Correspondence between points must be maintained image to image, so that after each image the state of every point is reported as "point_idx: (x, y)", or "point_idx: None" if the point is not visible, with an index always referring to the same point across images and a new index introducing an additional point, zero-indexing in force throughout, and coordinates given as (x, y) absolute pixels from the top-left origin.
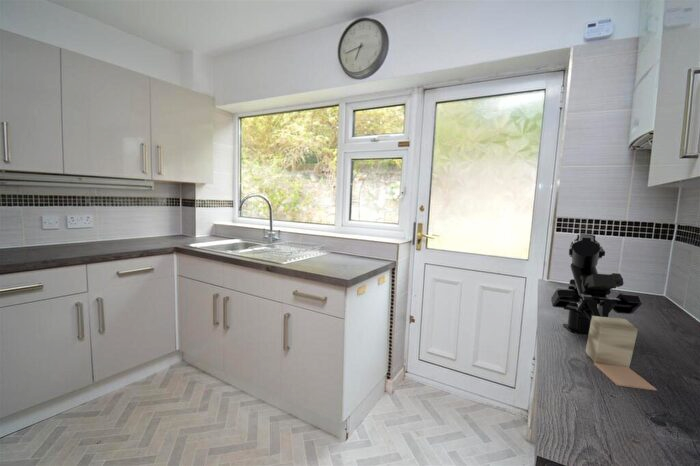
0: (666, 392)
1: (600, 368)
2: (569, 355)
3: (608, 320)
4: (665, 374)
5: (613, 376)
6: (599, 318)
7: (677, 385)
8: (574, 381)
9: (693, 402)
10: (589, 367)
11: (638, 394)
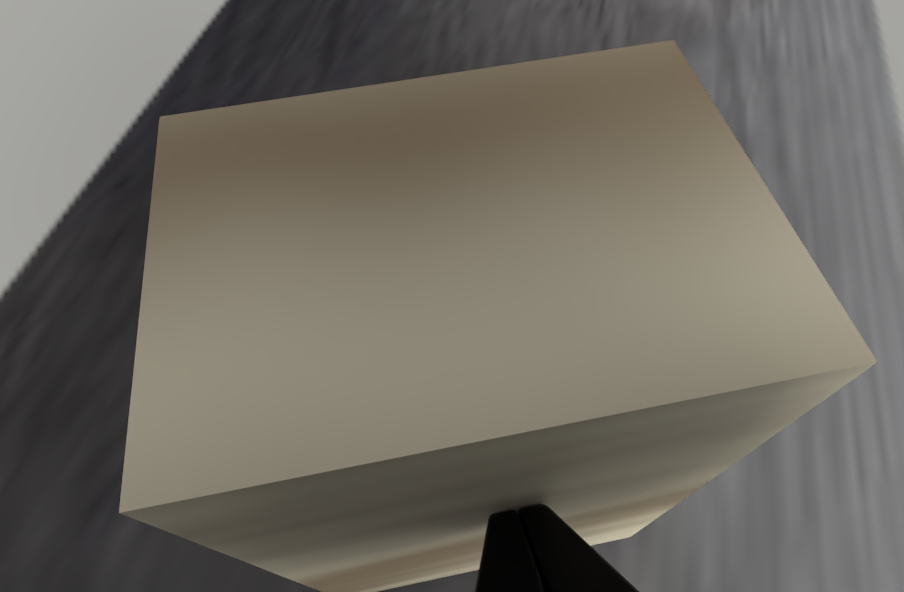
0: None
1: None
2: (745, 458)
3: (549, 261)
4: (83, 418)
5: None
6: (718, 276)
7: (118, 254)
8: (717, 45)
9: (170, 79)
10: None
11: (421, 47)
